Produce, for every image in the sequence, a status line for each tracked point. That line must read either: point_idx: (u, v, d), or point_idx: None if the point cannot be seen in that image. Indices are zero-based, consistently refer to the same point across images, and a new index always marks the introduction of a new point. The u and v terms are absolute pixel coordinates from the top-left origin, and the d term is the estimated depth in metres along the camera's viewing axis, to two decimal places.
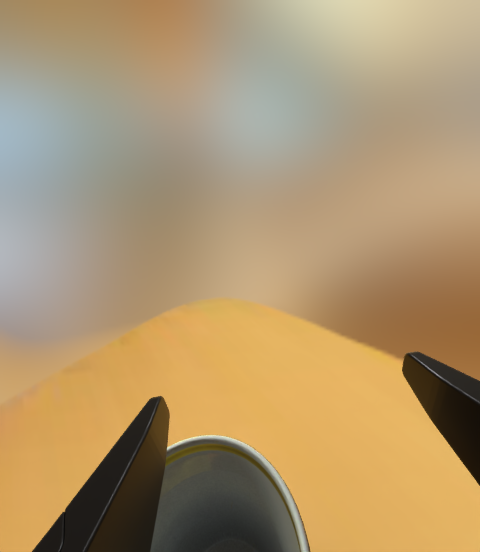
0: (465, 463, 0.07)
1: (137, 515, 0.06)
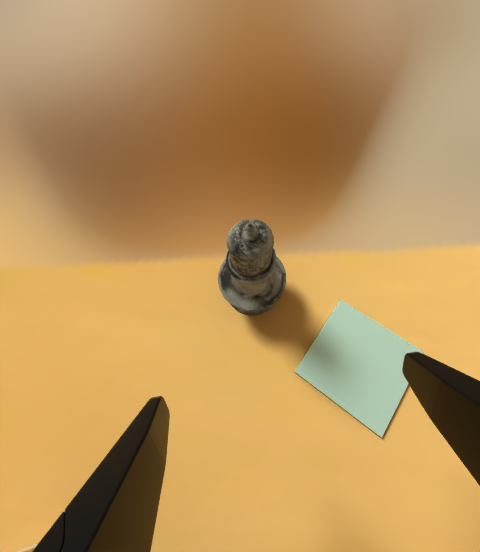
0: (465, 463, 0.07)
1: (137, 515, 0.06)
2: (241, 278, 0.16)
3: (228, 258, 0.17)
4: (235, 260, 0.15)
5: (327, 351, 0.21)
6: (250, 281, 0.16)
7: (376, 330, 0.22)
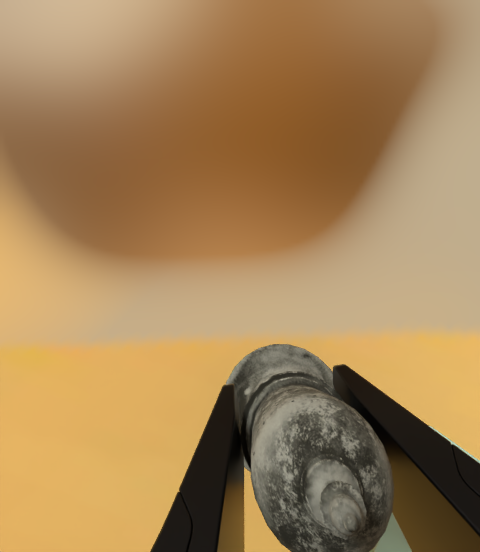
0: None
1: (236, 498, 0.06)
2: None
3: (246, 430, 0.08)
4: None
5: None
6: None
7: None
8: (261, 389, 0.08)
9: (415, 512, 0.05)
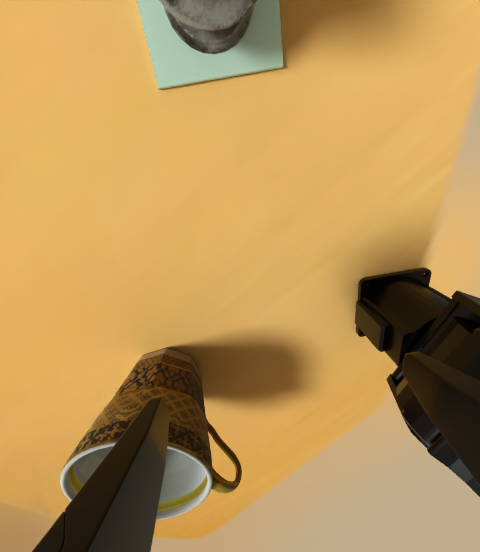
0: (465, 463, 0.07)
1: (137, 515, 0.06)
2: None
3: None
4: None
5: (165, 18, 0.14)
6: None
7: None
8: None
9: None
